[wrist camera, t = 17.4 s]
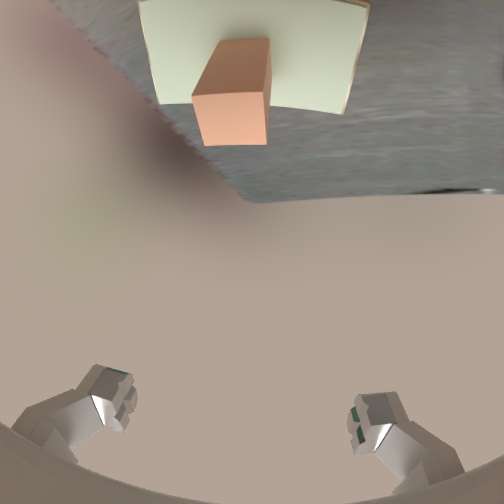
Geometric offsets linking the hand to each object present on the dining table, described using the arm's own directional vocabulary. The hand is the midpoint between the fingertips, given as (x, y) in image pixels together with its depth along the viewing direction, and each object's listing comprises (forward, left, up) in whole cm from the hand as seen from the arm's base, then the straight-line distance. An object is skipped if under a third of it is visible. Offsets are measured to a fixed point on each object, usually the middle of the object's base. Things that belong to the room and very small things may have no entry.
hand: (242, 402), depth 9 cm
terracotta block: (0, -2, -23) cm, 24 cm away
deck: (-1, -2, -27) cm, 27 cm away
